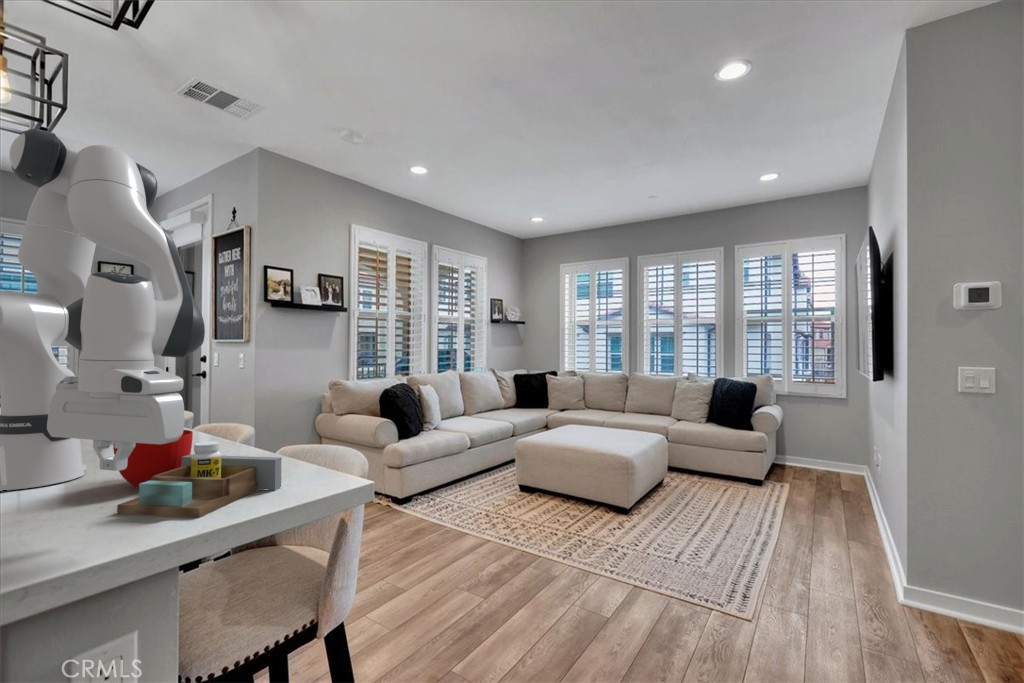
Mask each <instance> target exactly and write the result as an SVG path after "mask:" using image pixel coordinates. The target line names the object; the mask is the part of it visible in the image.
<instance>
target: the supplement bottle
mask: <svg viewBox="0 0 1024 683" xmlns="http://www.w3.org/2000/svg"><path fill="white" fill-rule="evenodd" d="M219 450H220V442H219V441H215V440H214V441H212V440H209V441H201V442H196V443H194V444H193V454H191V455H192V457H191V477H205V478H221V456H222V453H221V452H220V451H219Z"/></svg>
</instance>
